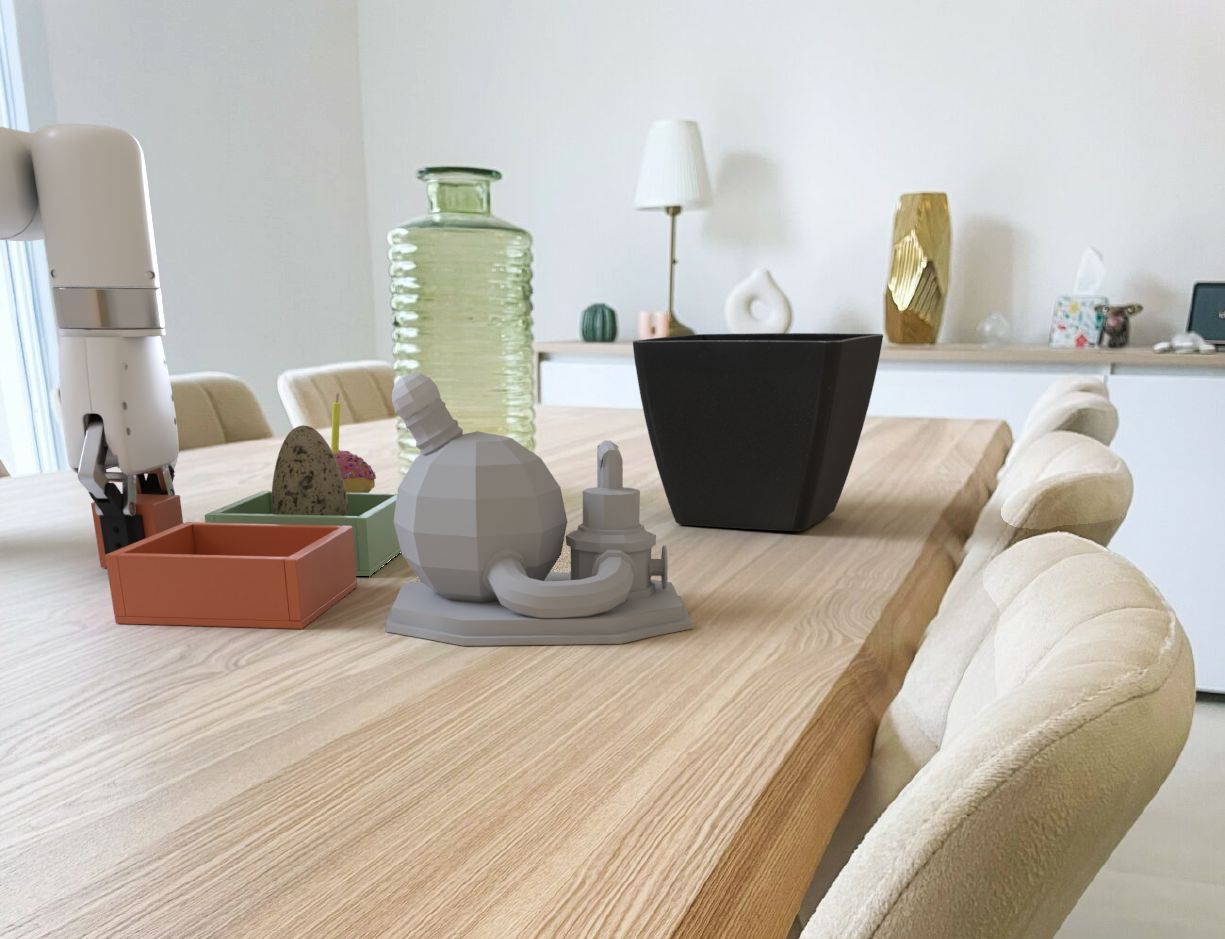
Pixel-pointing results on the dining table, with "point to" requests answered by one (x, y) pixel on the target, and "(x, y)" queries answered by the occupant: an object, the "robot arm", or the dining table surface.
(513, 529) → the grey distillation still model
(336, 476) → the decorative egg
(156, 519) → the terracotta block
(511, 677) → the dining table surface
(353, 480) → the donut with candle
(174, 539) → the terracotta bin
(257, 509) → the sage bin
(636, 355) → the flower pot
